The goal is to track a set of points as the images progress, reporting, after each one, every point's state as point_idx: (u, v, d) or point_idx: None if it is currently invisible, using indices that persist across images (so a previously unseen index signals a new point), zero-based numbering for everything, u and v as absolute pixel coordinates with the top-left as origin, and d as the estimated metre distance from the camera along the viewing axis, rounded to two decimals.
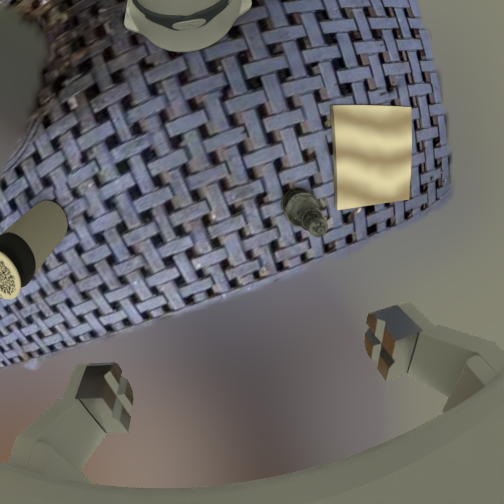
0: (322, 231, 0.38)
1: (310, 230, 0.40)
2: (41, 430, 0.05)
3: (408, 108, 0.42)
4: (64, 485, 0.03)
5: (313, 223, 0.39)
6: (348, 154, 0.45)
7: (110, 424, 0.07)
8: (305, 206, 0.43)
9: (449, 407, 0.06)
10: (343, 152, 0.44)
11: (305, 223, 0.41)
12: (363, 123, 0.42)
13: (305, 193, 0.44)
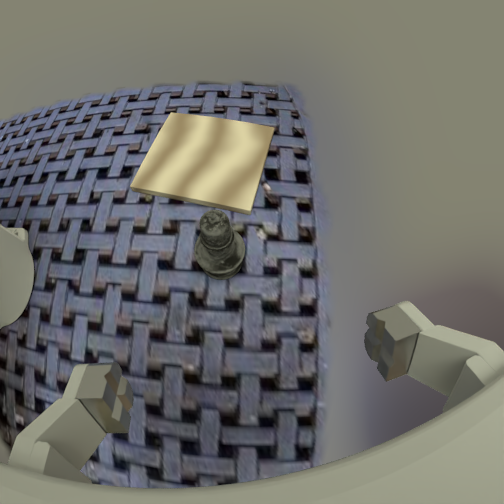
0: (211, 215, 0.26)
1: (211, 234, 0.27)
2: (41, 430, 0.05)
3: (170, 115, 0.45)
4: (64, 485, 0.03)
5: (202, 227, 0.27)
6: (186, 182, 0.40)
7: (110, 424, 0.07)
8: None
9: (449, 407, 0.06)
10: (182, 187, 0.39)
11: (210, 242, 0.29)
12: (162, 160, 0.41)
13: (198, 239, 0.34)
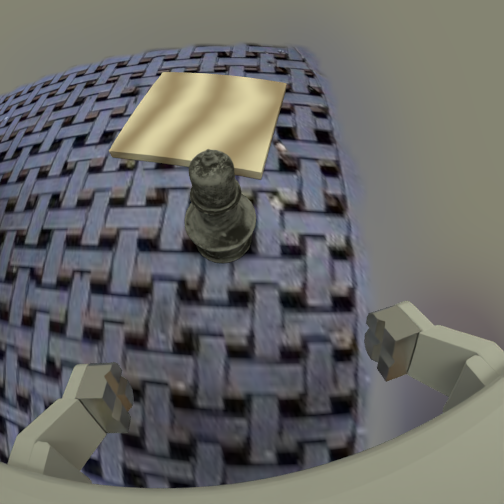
0: (206, 151, 0.16)
1: (206, 182, 0.17)
2: (41, 430, 0.05)
3: (162, 74, 0.35)
4: (64, 485, 0.03)
5: (192, 173, 0.17)
6: (178, 142, 0.30)
7: (110, 424, 0.07)
8: None
9: (449, 407, 0.06)
10: (172, 148, 0.30)
11: (205, 199, 0.19)
12: (149, 120, 0.31)
13: (190, 206, 0.24)
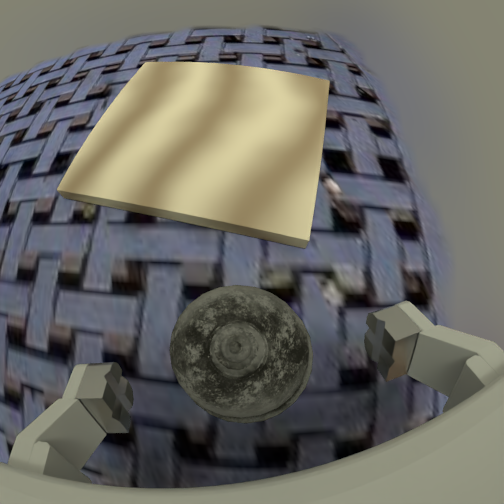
0: (227, 348, 0.04)
1: (230, 414, 0.05)
2: (41, 430, 0.05)
3: (144, 65, 0.23)
4: (64, 485, 0.03)
5: (183, 382, 0.05)
6: (162, 176, 0.18)
7: (110, 424, 0.07)
8: None
9: (449, 407, 0.06)
10: (151, 187, 0.18)
11: None
12: (119, 136, 0.19)
13: None
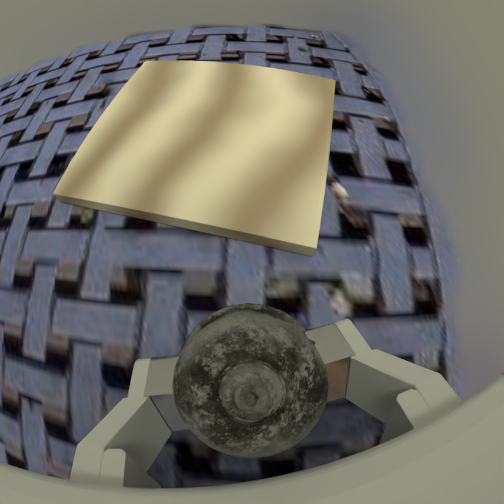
0: (241, 399, 0.03)
1: (242, 455, 0.04)
2: (109, 435, 0.05)
3: (144, 64, 0.22)
4: (64, 485, 0.03)
5: (188, 423, 0.04)
6: (162, 180, 0.17)
7: (179, 421, 0.07)
8: None
9: (384, 440, 0.06)
10: (151, 192, 0.17)
11: None
12: (117, 137, 0.19)
13: (186, 345, 0.11)
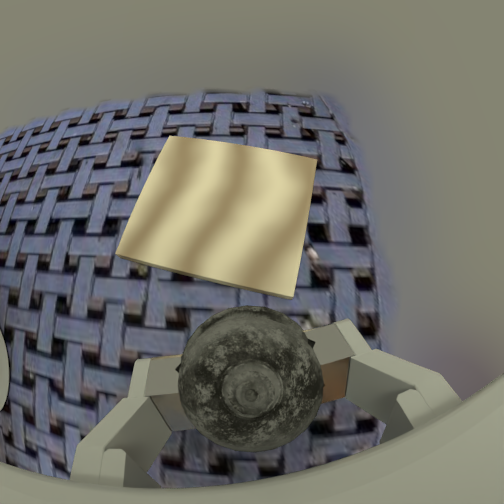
0: (242, 395, 0.04)
1: (244, 449, 0.05)
2: (109, 436, 0.05)
3: (169, 139, 0.33)
4: (64, 485, 0.03)
5: (193, 420, 0.05)
6: (196, 250, 0.28)
7: (179, 421, 0.07)
8: None
9: (384, 440, 0.06)
10: (189, 258, 0.27)
11: None
12: (159, 212, 0.29)
13: (188, 347, 0.12)
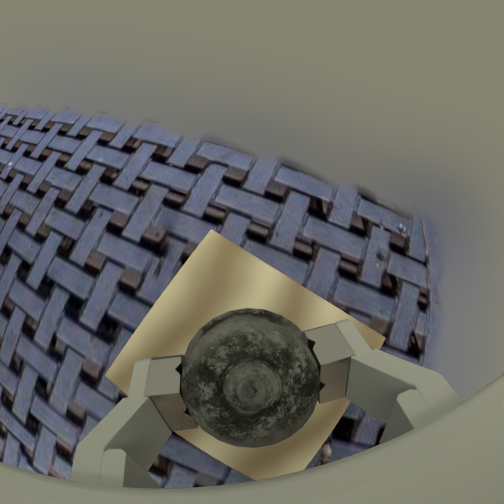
0: (242, 392, 0.04)
1: (244, 445, 0.05)
2: (109, 435, 0.05)
3: (209, 236, 0.26)
4: (64, 485, 0.03)
5: (196, 417, 0.05)
6: None
7: (179, 421, 0.07)
8: None
9: (384, 440, 0.06)
10: None
11: None
12: (166, 349, 0.22)
13: (189, 348, 0.12)
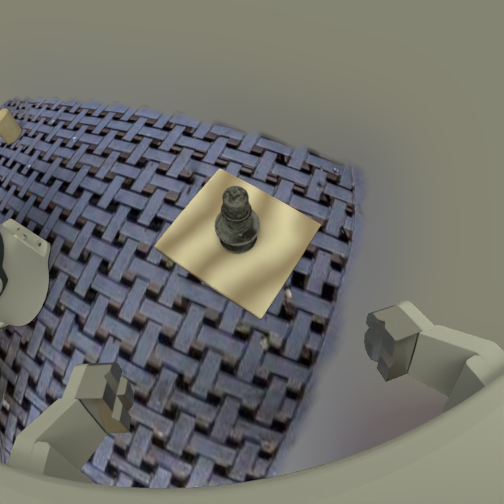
0: (233, 188, 0.30)
1: (233, 205, 0.31)
2: (41, 430, 0.05)
3: (218, 171, 0.45)
4: (64, 485, 0.03)
5: (225, 200, 0.31)
6: (209, 264, 0.39)
7: (110, 424, 0.07)
8: None
9: (449, 407, 0.06)
10: (203, 268, 0.39)
11: (231, 214, 0.32)
12: (193, 228, 0.41)
13: (217, 217, 0.38)
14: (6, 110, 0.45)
